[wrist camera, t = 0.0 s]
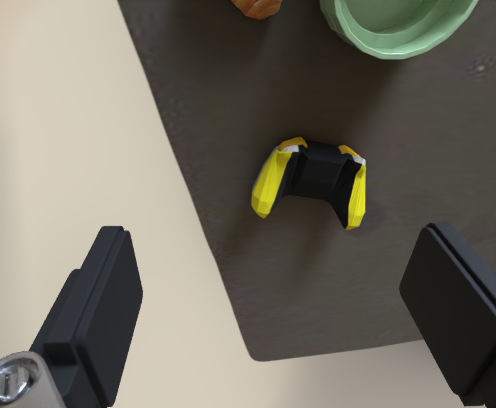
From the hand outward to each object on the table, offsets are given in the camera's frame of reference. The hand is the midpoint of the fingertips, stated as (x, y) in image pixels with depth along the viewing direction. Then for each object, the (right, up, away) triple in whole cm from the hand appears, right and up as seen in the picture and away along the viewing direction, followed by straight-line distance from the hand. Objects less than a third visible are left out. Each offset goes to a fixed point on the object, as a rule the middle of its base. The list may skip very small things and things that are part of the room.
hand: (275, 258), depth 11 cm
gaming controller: (+7, +6, +34) cm, 36 cm away
